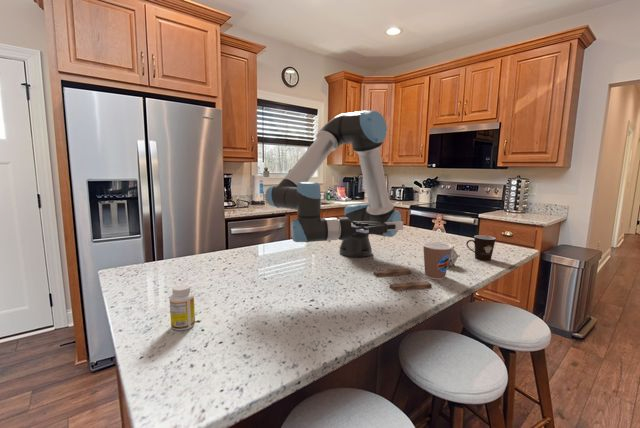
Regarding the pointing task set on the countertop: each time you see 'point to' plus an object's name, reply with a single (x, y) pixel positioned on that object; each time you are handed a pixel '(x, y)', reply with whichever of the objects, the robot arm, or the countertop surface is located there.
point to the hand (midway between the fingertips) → (402, 225)
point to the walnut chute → (402, 285)
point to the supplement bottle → (182, 308)
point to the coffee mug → (483, 247)
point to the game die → (453, 257)
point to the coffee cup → (436, 259)
